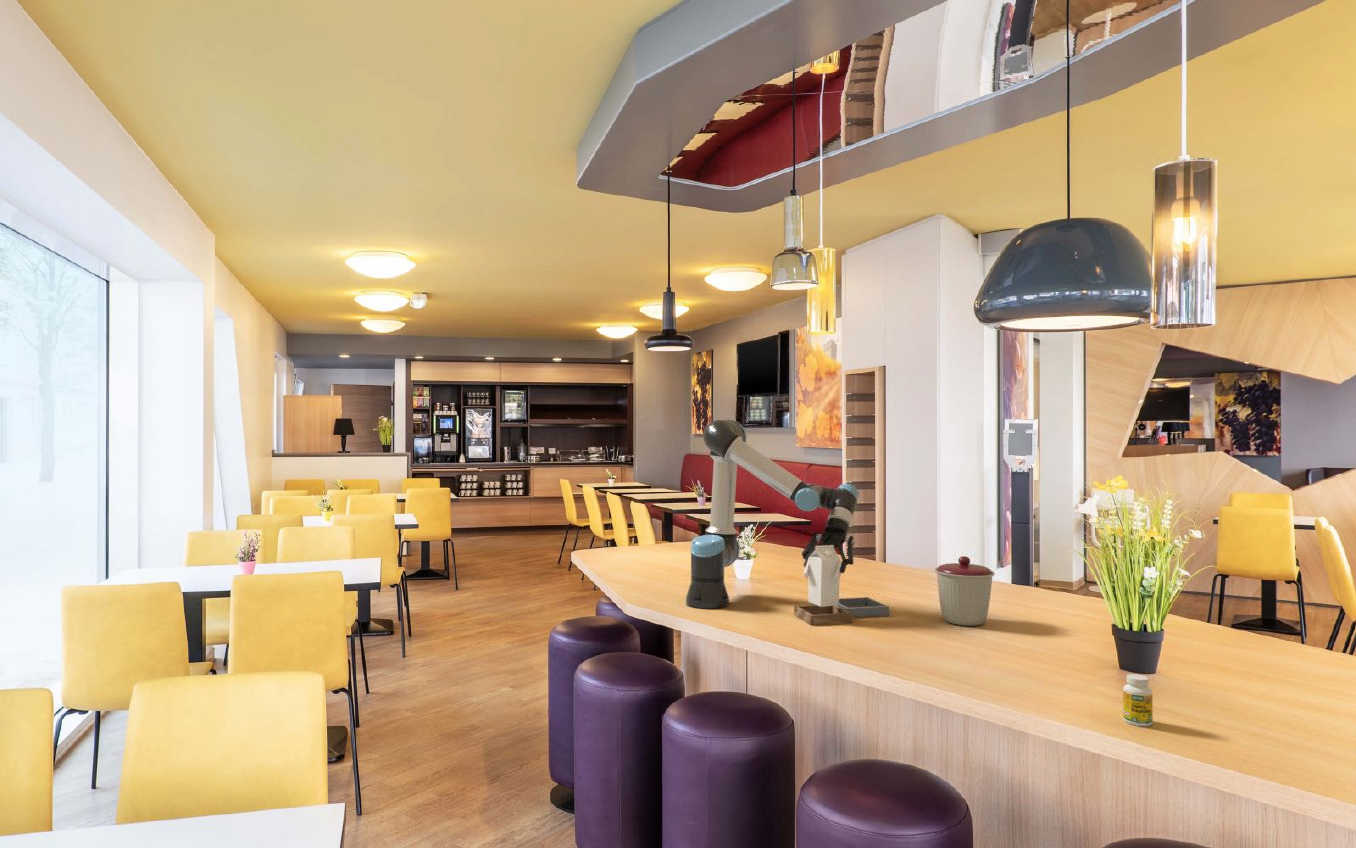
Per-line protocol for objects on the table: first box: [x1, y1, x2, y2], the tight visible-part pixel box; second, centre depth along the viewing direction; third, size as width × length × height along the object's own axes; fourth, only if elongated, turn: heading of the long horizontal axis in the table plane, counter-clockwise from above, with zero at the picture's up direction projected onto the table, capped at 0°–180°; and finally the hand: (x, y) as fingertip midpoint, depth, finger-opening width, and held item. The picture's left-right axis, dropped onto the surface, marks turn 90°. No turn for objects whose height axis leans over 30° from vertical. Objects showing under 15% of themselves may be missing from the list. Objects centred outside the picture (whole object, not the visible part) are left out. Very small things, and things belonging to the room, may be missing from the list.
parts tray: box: [836, 596, 890, 619], centre depth 268 cm, size 15×15×3 cm
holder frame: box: [793, 604, 853, 626], centre depth 257 cm, size 14×14×3 cm
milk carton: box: [807, 545, 841, 607], centre depth 257 cm, size 7×7×19 cm
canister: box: [934, 555, 995, 627], centre depth 254 cm, size 18×18×21 cm
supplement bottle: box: [1122, 673, 1154, 728], centre depth 167 cm, size 5×5×10 cm
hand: (820, 578), depth 254 cm, fingers closed on milk carton, 10 cm apart
